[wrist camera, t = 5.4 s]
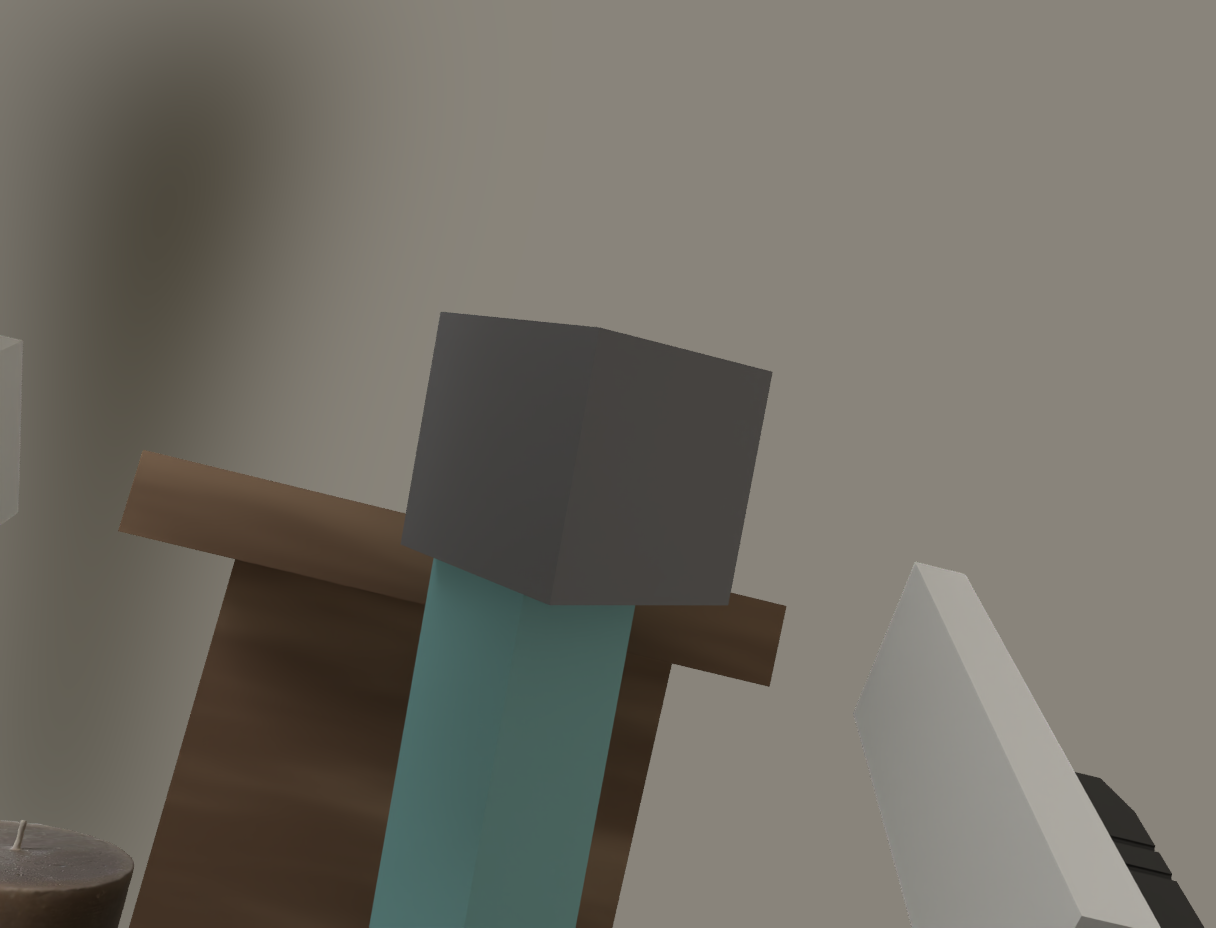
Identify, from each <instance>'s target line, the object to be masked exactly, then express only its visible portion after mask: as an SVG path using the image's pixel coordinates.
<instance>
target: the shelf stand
mask: <svg viewBox="0 0 1216 928" xmlns="http://www.w3.org/2000/svg"><path fill="white" fill-rule="evenodd" d="M405 516H406V514H405V513H400V512H397V511H392V510H389V509H385V508H380V507H376V506H372V505H368V504H364V503H360V502H356V501H352V500H347V499H343V498H339V497H335V496H331V495H326V494H323V493H319V492H314V491H310V490H306V489H302V488H298V487H294V486H290V485H286V484H281V483H277V482H273V481H269V480H265V479H261V478H257V477H253V476H249V475H245V474H240V473H236V472H232V471H228V470H224V469H219V468H216V467H212V466H207V465H203V464H199V463H195V462H191V461H187V460H183V459H179V458H174V457H170V456H166V455H162V454H158V453H154V452H150V451H145V450H143V452H142V455H141V458H140V461H139V465H138V468H137V471H136V475H135V478H134V481H133V485H132V488H131V491H130V494H129V498H128V501H127V504H126V507H125V511H124V514H123V517H122V520H121V523H120V527H119V530H118V531H120V532H124V533H128V534H133V535H136V536H141V537H145V538H149V539H153V540H158V541H162V542H166V543H170V544H174V545H178V546H183V547H187V548H191V549H195V550H199V551H203V552H208V553H212V554H216V555H221V556H224V557H229V558H233V559H235V562H234V566H233V569H232V572H231V576H230V579H229V583H228V586H227V590H226V593H225V597H224V600H223V604H222V607H221V610H220V614H219V618H218V621H217V624H216V628H215V631H214V635H213V638H212V642H211V645H210V649H209V652H208V656H207V659H206V662H205V666H204V669H203V673H202V677H201V680H200V683H199V687H198V690H197V694H196V697H195V701H194V704H193V708H192V711H191V714H190V718H189V722H188V725H187V728H186V732H185V735H184V739H183V742H182V746H181V749H180V753H179V756H178V760H177V763H176V766H175V770H174V773H173V777H172V780H171V784H170V787H169V791H168V794H167V799H166V801H165V805H164V808H163V811H162V815H161V819H160V822H159V825H158V829H157V832H156V836H155V839H154V843H153V846H152V850H151V853H150V856H149V860H148V863H147V867H146V870H145V874H144V877H143V881H142V884H141V888H140V892H139V895H138V898H137V902H136V905H135V909H134V912H133V915H132V919H131V922H130V926H129V928H369V925H370V919H371V913H372V908H373V902H374V896H375V890H376V885H377V879H378V873H379V868H380V862H381V856H382V850H383V845H384V839H385V833H386V828H387V822H388V816H389V810H390V805H391V799H392V793H393V787H394V782H395V776H396V770H397V765H398V759H399V753H400V747H401V742H402V736H403V730H404V724H405V719H406V713H407V707H408V702H409V696H410V690H411V684H412V679H413V673H414V667H415V662H416V656H417V650H418V644H419V639H420V633H421V627H422V621H423V616H424V610H425V604H426V599H427V593H428V587H429V581H430V576H431V570H432V564H433V559H434V558H433V557H430V556H428V555H425V554H423V553H420V552H418V551H415V550H413V549H411V548H408V547H406V546H403V545H401V539H402V533H403V527H404V521H405ZM785 610H786V606H784V605H779V604H775V603H771V602H767V601H763V600H759V599H755V598H751V597H746V596H742V595H738V594H734V593H730V598H729V603H728V605H635V609H634V615H633V620H632V626H631V631H630V636H629V642H628V647H627V653H626V658H625V663H624V669H623V674H622V680H621V685H620V690H619V696H618V701H617V707H616V712H615V717H614V723H613V728H612V734H611V739H610V744H609V750H608V755H607V761H606V766H605V771H604V777H603V782H602V787H601V793H600V798H599V804H598V809H597V814H596V820H595V825H594V831H593V836H592V841H591V847H590V852H589V858H588V863H587V868H586V874H585V879H584V885H583V890H582V895H581V901H580V906H579V912H578V917H577V922H576V928H612V927H613V922H614V918H615V914H616V909H617V905H618V900H619V895H620V891H621V887H622V882H623V878H624V874H625V869H626V864H627V860H628V856H629V851H630V847H631V843H632V838H633V833H634V829H635V824H636V820H637V816H638V811H639V807H640V803H641V798H642V794H643V789H644V785H645V780H646V776H647V771H648V767H649V763H650V758H651V754H652V749H653V744H654V740H655V736H656V731H657V727H658V723H659V718H660V714H661V709H662V705H663V700H664V696H665V692H666V687H667V683H668V678H669V674H670V669H671V665H672V664H677V665H681V666H685V667H690V668H693V669H698V670H702V671H706V672H710V673H715V674H718V675H723V676H727V677H731V678H735V679H740V680H744V681H748V682H752V683H756V684H760V685H765V686H770V681H771V677H772V672H773V667H774V662H775V658H776V653H777V647H778V644H779V638H780V634H781V629H782V624H783V619H784V615H785Z"/></svg>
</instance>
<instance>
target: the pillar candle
mask: <svg viewBox="0 0 1216 928" xmlns="http://www.w3.org/2000/svg"><path fill="white" fill-rule="evenodd" d="M133 869H134V862H133V860H132V858H131V857H130V856H129V855H128V854H127V853H125V851H123V850H122V849H120V848H119V847H117V846H115V845H114V844H112V843H110V842H107V841H104V840H101V839H98V838H96V837H93V836H90V835H86V834H82V833H80V832H76V831H73V830H68V829H61V828H57V827H51V826H46V825H43V824H30V823H26V821H24V820H21V822H16V821H5V820H0V928H118V924H119V921H120V918H121V914H122V910H123V907H124V903H125V899H126V895H127V892H128V887H129V884H130V881H131V878H132V873H133Z"/></svg>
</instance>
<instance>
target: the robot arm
mask: <svg viewBox="0 0 1216 928" xmlns="http://www.w3.org/2000/svg"><path fill="white" fill-rule="evenodd" d="M22 352H23V340H19V339H15V338H11V337H7V336H3V335H0V525H1V524H3V523H4V522H5V521H7V520H8V519H9V518H11V517H12V516H13V515H15V514H16V513H18V504H19V502H18V501H19V466H20V465H19V464H20V429H21V428H20V427H21V392H22V355H23V353H22ZM853 714H854V718H855V722H856V725H857V729H858V732H859V736H860V740H861V744H862V747H863V751H864V755H865V758H866V762H867V766H868V769H869V773H870V777H871V780H872V784H873V787H874V791H875V795H876V799H877V802H878V806H879V810H880V813H881V817H882V820H883V824H884V828H885V832H886V835H887V839H888V843H889V846H890V850H891V854H892V857H893V861H894V865H895V868H896V872H897V876H898V879H899V883H900V887H901V890H902V894H903V898H904V901H905V905H906V909H907V912H908V916H909V920H910V923H911V927H912V928H1204V926H1203V925H1202V923H1201V921H1200V920H1199V918H1198V916H1197V915H1196V913H1195V911H1194V910H1193V908H1192V906H1191V905H1190V903H1189V901H1188V900H1187V898H1186V896H1185V895H1184V893H1183V892H1182V890H1181V888H1180V887H1179V885H1178V883H1177V882H1176V881H1173V880H1171V876H1172V873H1171V872H1170V870H1169V868H1168V867H1167V865H1166V863H1165V862H1164V860H1163V858H1162V857H1161V855H1160V854H1159V853H1158V852H1154V848H1155V845H1154V843H1153V842H1152V840H1151V838H1150V837H1149V835H1148V833H1147V832H1146V830H1145V828H1144V827H1143V825H1142V823H1141V822H1140V820H1139V818H1138V817H1137V815H1136V813H1135V812H1134V811H1133V810H1132V809H1131V808H1130V807H1129V806H1128V805H1127V804H1126V803H1125V802H1124V801H1123V800H1122V799H1121V798H1120V797H1119V796H1118V795H1117V794H1116V793H1115V792H1114V791H1113V790H1112V789H1111V788H1110V787H1109V786H1108V785H1106V783H1105V782H1103V780H1102V779H1100V778H1097V777H1093V776H1088V775H1085V774H1081V773H1076V772H1074V770H1073V768H1072V766H1071V765H1070V763H1069V761H1068V759H1067V757H1066V756H1065V754H1064V752H1063V750H1062V748H1061V746H1060V745H1059V743H1058V741H1057V739H1056V737H1055V736H1054V734H1053V732H1052V730H1051V729H1050V727H1049V725H1048V723H1047V721H1046V719H1045V718H1044V716H1043V714H1042V712H1041V710H1040V709H1039V707H1038V705H1037V703H1036V701H1035V699H1034V698H1033V696H1032V694H1031V692H1030V690H1029V689H1028V687H1027V685H1026V683H1025V681H1024V680H1023V678H1022V676H1021V674H1020V672H1019V670H1018V669H1017V667H1016V665H1015V663H1014V661H1013V660H1012V658H1011V656H1010V655H1009V652H1008V651H1007V649H1006V647H1005V645H1004V643H1003V642H1002V640H1001V638H1000V636H999V634H998V633H997V631H996V629H995V627H994V625H993V623H992V622H991V620H990V618H989V616H988V614H987V613H986V611H985V609H984V607H983V605H982V604H981V602H980V600H979V598H978V596H977V595H976V593H975V591H974V589H973V587H972V585H971V584H970V582H969V580H968V578H967V576H966V575H965V574H963V573H959V572H955V571H951V570H947V569H942V568H938V567H935V566H930V565H927V564H923V563H918V562H915V563H914V566H913V568H912V571H911V573H910V576H909V578H908V580H907V583H906V585H905V588H904V590H903V593H902V595H901V597H900V600H899V602H898V605H897V607H896V610H895V612H894V615H893V617H892V620H891V622H890V624H889V627H888V629H887V632H886V634H885V637H884V639H883V642H882V644H881V646H880V649H879V651H878V654H877V656H876V659H875V661H874V664H873V666H872V668H871V671H870V673H869V676H868V679H867V681H866V683H865V686H864V688H863V690H862V693H861V695H860V698H859V700H858V703H857V705H856V708H855V710H854V713H853Z"/></svg>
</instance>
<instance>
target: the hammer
mask: <svg viewBox="0 0 1216 928" xmlns="http://www.w3.org/2000/svg"><path fill="white" fill-rule="evenodd" d="M771 377H772V372H771V371H767V370H763V369H759V368H755V367H751V366H747V365H744V364H740V363H736V362H731V361H727V360H724V359H720V358H716V357H712V356H709V355H705V354H701V353H696V352H693V351H689V350H685V349H681V348H677V347H673V346H670V345H665V344H662V343H658V342H654V341H650V340H646V339H642V338H638V337H634V336H631V335H627V334H623V333H618V332H614V331H611V330H607V329H603V328H598V327H589V326H578V325H569V324H558V323H548V322H538V321H528V320H518V319H508V318H498V317H488V316H478V315H468V314H458V313H447V312H441V313H440V320H439V325H438V331H437V337H436V342H435V348H434V354H433V360H432V365H431V371H430V377H429V383H428V388H427V394H426V400H425V406H424V412H423V417H422V423H421V429H420V435H419V441H418V446H417V452H416V458H415V464H414V470H413V475H412V481H411V487H410V493H409V499H408V504H407V510H406V516H405V521H404V527H403V533H402V539H401V545H403V546H406V547H408V548H411V549H413V550H415V551H418V552H420V553H423V554H425V555H428V556H430V557H433V558H434V559H433V564H432V570H431V576H430V581H429V587H428V593H427V599H426V604H425V610H424V616H423V621H422V627H421V633H420V639H419V644H418V650H417V656H416V662H415V667H414V673H413V679H412V684H411V690H410V696H409V702H408V707H407V713H406V719H405V724H404V730H403V736H402V742H401V747H400V753H399V759H398V765H397V770H396V776H395V782H394V787H393V793H392V799H391V805H390V810H389V816H388V822H387V828H386V833H385V839H384V845H383V850H382V856H381V862H380V868H379V873H378V879H377V885H376V890H375V896H374V902H373V908H372V913H371V919H370V925H369V928H576V922H577V917H578V912H579V906H580V901H581V895H582V890H583V885H584V879H585V874H586V868H587V863H588V858H589V852H590V847H591V841H592V836H593V831H594V825H595V820H596V814H597V809H598V804H599V798H600V793H601V787H602V782H603V777H604V771H605V766H606V761H607V755H608V750H609V744H610V739H611V734H612V728H613V723H614V717H615V712H616V707H617V701H618V696H619V690H620V685H621V680H622V674H623V669H624V663H625V658H626V653H627V647H628V642H629V636H630V631H631V626H632V620H633V615H634V609H635V605H728V603H729V598H730V593H731V588H732V582H733V577H734V572H735V566H736V561H737V556H738V550H739V545H740V540H741V535H742V530H743V524H744V519H745V514H746V509H747V503H748V498H749V493H750V488H751V482H752V477H753V472H754V466H755V461H756V456H757V451H758V445H759V440H760V435H761V429H762V425H763V419H764V414H765V409H766V403H767V398H768V393H769V387H770V382H771Z"/></svg>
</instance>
